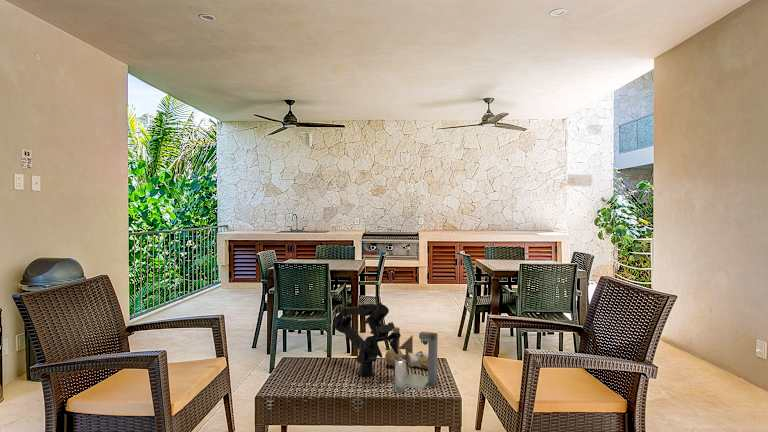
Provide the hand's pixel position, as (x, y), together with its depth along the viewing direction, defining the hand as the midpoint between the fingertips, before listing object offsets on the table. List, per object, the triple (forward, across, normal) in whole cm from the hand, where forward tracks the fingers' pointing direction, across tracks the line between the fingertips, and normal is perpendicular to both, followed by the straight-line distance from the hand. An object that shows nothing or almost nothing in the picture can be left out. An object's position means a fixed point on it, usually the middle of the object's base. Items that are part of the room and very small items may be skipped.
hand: (389, 355), depth 207 cm
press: (+15, +11, +4) cm, 19 cm away
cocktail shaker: (+15, 0, +3) cm, 16 cm away
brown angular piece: (-6, +28, +26) cm, 39 cm away
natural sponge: (-4, +18, +23) cm, 30 cm away
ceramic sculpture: (+3, +29, +17) cm, 34 cm away
